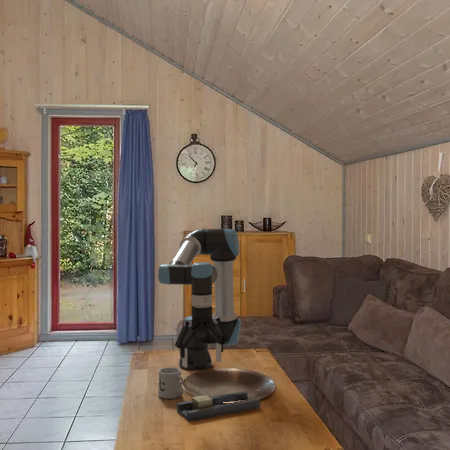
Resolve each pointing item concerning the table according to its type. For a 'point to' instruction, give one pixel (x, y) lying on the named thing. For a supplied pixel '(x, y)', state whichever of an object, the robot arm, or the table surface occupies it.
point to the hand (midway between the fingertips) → (202, 363)
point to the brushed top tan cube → (201, 402)
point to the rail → (218, 406)
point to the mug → (170, 383)
